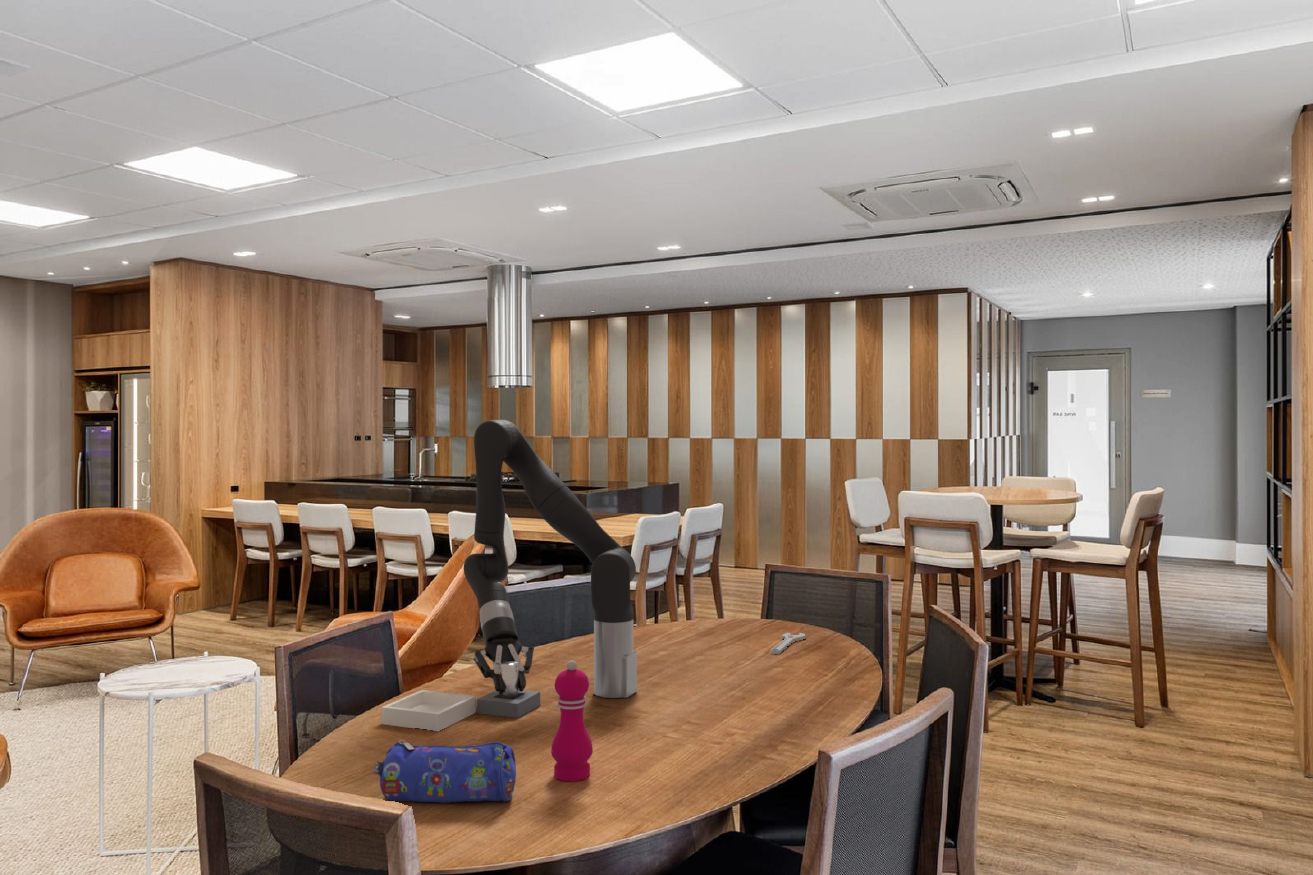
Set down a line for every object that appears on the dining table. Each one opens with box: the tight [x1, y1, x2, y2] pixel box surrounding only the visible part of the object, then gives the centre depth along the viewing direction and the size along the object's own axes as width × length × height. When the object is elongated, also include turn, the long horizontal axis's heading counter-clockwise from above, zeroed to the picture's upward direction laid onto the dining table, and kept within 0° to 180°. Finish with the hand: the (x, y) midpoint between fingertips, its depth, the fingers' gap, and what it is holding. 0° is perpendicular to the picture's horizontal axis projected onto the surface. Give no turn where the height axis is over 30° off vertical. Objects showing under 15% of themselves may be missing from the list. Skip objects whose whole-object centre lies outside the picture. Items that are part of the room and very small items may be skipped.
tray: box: [381, 689, 477, 733], centre depth 189 cm, size 14×14×4 cm
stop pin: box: [499, 661, 519, 700], centre depth 195 cm, size 4×4×10 cm
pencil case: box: [373, 739, 517, 803], centre depth 145 cm, size 22×9×10 cm, turn 88°
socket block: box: [476, 689, 541, 719], centre depth 195 cm, size 10×10×3 cm
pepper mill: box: [550, 660, 594, 782], centre depth 156 cm, size 7×7×20 cm
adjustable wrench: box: [770, 632, 806, 655], centre depth 257 cm, size 25×6×2 cm, turn 152°
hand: (511, 690), depth 193 cm, fingers closed on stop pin, 4 cm apart
